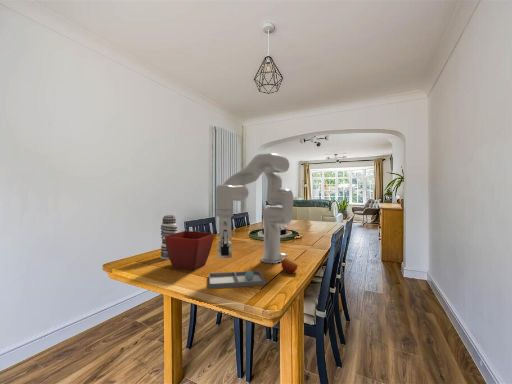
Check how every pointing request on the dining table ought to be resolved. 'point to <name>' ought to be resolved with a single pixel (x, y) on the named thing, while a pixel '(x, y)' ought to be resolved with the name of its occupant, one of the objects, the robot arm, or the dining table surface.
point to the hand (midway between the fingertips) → (224, 252)
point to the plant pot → (189, 249)
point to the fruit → (289, 265)
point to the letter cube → (219, 244)
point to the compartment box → (234, 279)
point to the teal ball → (249, 275)
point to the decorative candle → (167, 232)
